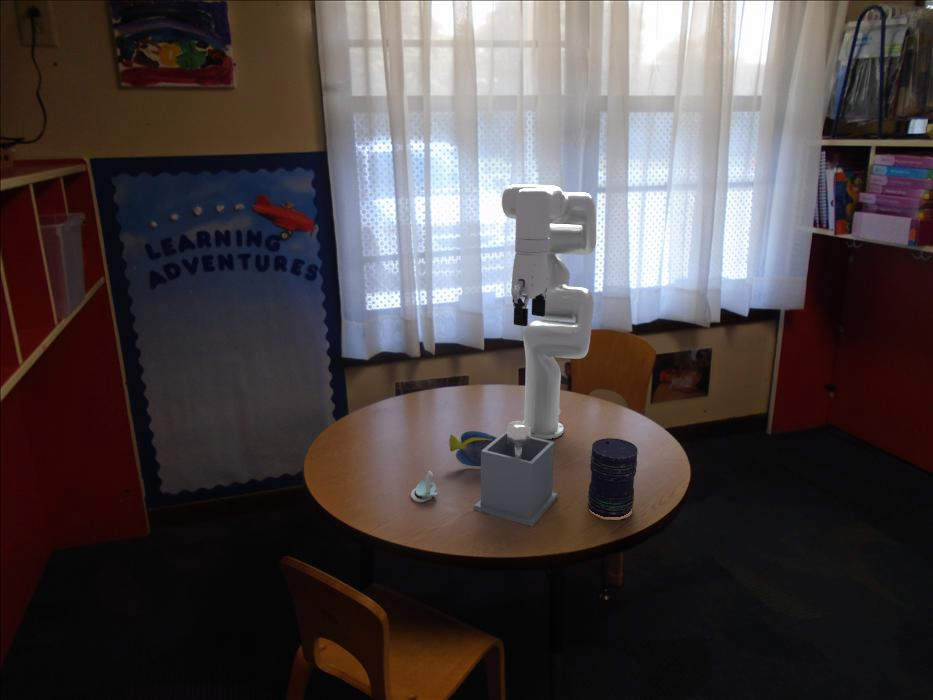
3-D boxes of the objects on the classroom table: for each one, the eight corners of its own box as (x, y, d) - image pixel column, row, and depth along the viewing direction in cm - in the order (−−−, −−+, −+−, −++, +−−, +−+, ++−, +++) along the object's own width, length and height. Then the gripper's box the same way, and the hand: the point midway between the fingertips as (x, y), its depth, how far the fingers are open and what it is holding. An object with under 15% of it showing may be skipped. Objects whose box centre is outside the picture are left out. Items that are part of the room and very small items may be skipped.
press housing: (502, 482, 163) (503, 428, 159) (557, 497, 157) (560, 441, 153) (474, 509, 152) (474, 451, 147) (532, 526, 145) (534, 466, 141)
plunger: (507, 477, 159) (509, 413, 155) (544, 487, 155) (547, 422, 150) (488, 495, 152) (489, 428, 147) (527, 506, 147) (530, 438, 142)
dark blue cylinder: (641, 516, 149) (647, 454, 145) (602, 524, 146) (607, 461, 141) (616, 494, 158) (621, 435, 154) (579, 502, 155) (582, 441, 150)
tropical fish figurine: (512, 466, 171) (513, 429, 168) (512, 472, 168) (513, 434, 165) (449, 464, 172) (449, 427, 169) (448, 469, 169) (448, 432, 166)
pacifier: (412, 506, 153) (438, 503, 154) (410, 481, 151) (437, 478, 152) (409, 490, 160) (435, 487, 161) (408, 465, 158) (434, 463, 159)
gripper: (532, 239, 161) (530, 310, 166) (499, 249, 147) (497, 327, 152) (562, 241, 158) (559, 314, 163) (531, 252, 143) (528, 331, 148)
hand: (529, 320), depth 157 cm, fingers open, 9 cm apart
